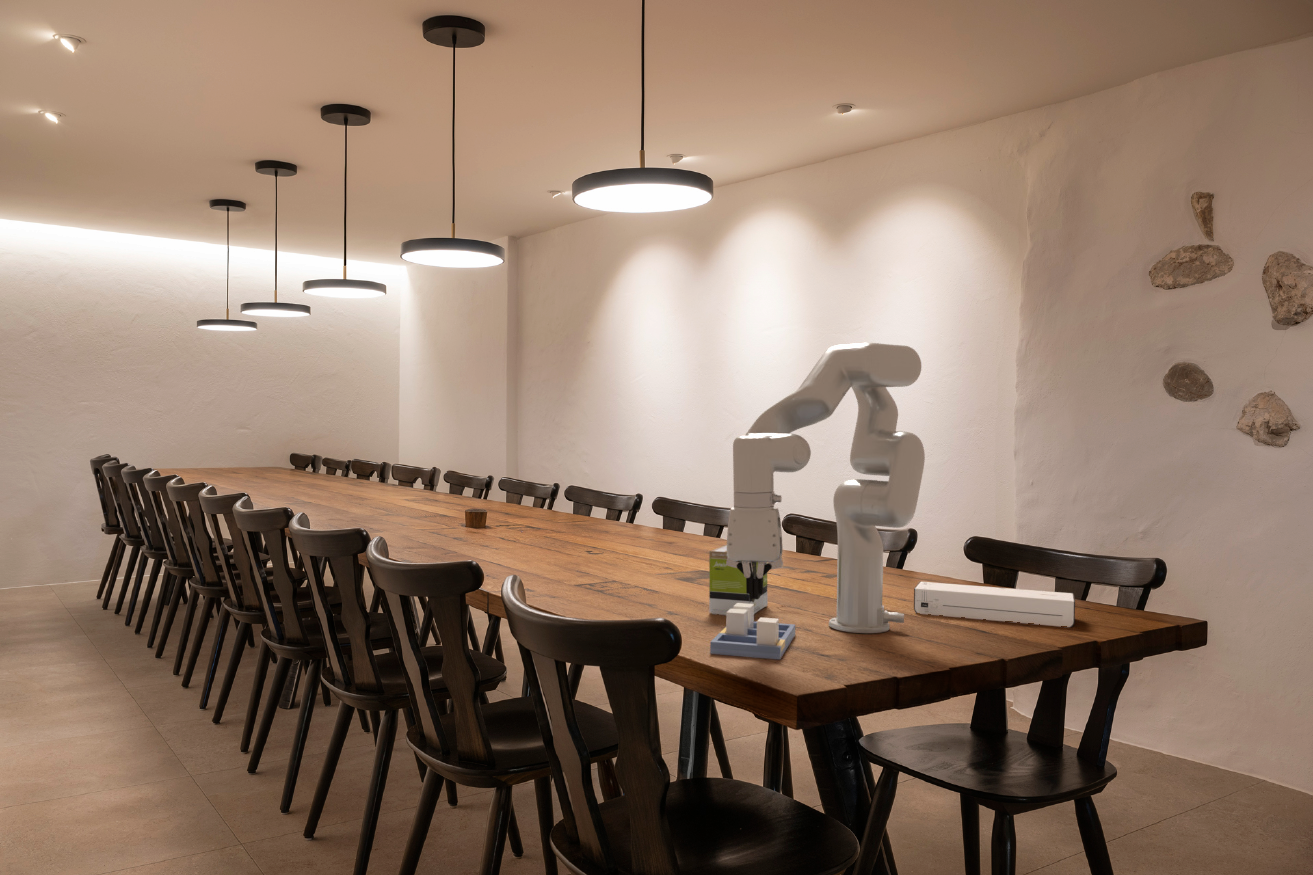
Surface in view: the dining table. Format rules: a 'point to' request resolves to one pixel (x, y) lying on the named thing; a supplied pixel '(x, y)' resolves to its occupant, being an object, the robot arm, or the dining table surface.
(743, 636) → the blue compartment tray
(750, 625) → the tab
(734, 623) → the tab
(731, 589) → the tea box
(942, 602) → the laminator
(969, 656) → the dining table surface
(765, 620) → the tab
